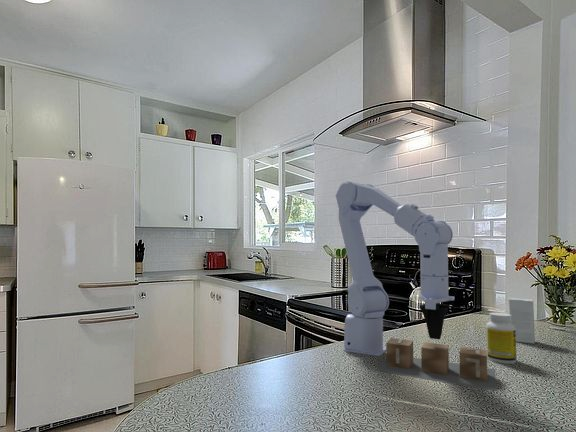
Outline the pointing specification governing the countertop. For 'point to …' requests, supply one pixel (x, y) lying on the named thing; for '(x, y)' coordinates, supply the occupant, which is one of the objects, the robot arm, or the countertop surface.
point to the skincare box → (523, 319)
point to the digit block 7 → (473, 363)
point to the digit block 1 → (399, 353)
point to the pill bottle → (501, 338)
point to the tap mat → (451, 376)
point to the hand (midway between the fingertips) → (435, 338)
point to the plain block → (435, 358)
